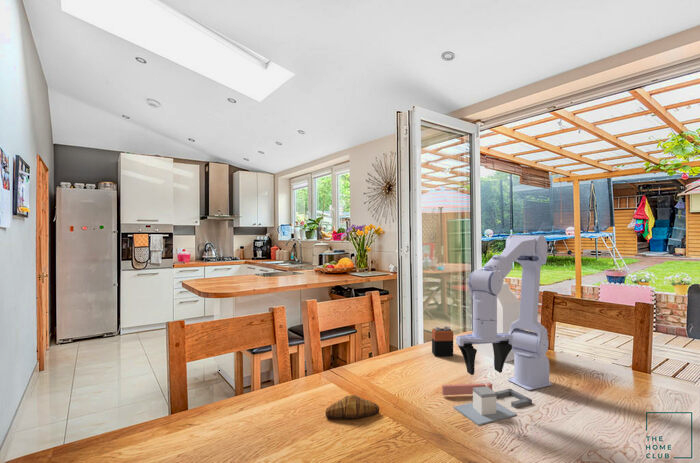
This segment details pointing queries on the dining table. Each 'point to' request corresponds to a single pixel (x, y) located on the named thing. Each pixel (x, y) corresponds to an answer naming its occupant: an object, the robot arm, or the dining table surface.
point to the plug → (484, 400)
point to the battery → (442, 341)
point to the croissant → (352, 408)
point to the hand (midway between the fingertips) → (484, 372)
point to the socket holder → (522, 399)
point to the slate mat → (483, 419)
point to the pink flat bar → (462, 388)
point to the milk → (503, 319)
